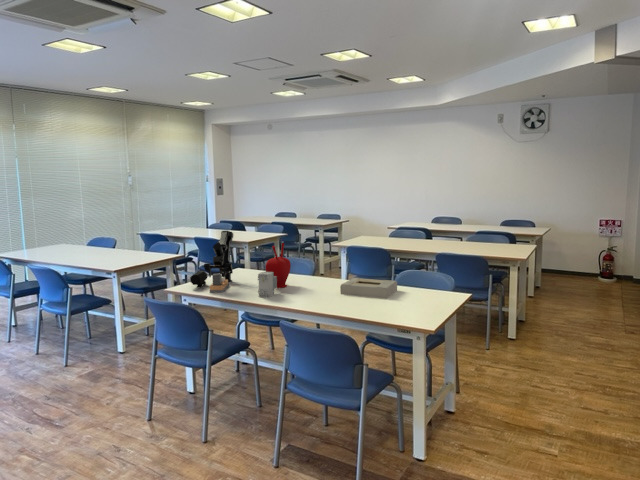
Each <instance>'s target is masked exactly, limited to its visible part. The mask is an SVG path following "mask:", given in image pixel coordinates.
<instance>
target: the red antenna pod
mask: <svg viewBox="0 0 640 480" xmlns="http://www.w3.org/2000/svg"><path fill="white" fill-rule="evenodd" d="M284 247H285V243H284V242H282V243H281V252H280V256H278V254H277V250H276V246H275V245H272V246H271V248H272V250H273V254H274V257H272V258H269V259H268V260H267V261H266V262H265V268H264V269H265V272H274V276H277V288H276V289H285V288H286V287H288V284H286V282H287V280H288V277H289V275H290V273H291V265H292V263H291V261H290V260H289V259H288V258H287V257H284Z"/></svg>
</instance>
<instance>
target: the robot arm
mask: <svg viewBox="0 0 640 480" xmlns="http://www.w3.org/2000/svg"><path fill="white" fill-rule="evenodd" d="M233 239H234V232H232V231H229V230H221V232H220V238H219V241H217V242H216V243H215V244H213V245H212V246H213V247H212V248H213V251H214V254H215V256H212V257H213V258H212V262H213V265H212V264H211V263H210V262H209V263H204V264H203V268H204V271H205V272H206V273H208V275H209V278H211V276H212V269H218V270H219V274H221V276H222V277H225V280H228V283H230V282H233V280H232V278H231V277H232V274H233V272H234V271H233V265H232V262H230V250H231V243H232V242H233Z"/></svg>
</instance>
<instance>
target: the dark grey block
mask: <svg viewBox="0 0 640 480" xmlns="http://www.w3.org/2000/svg"><path fill="white" fill-rule="evenodd" d="M211 276H212V283H213V286H217V285H222V274H220V273H213V274H211Z"/></svg>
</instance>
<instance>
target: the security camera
mask: <svg viewBox="0 0 640 480" xmlns="http://www.w3.org/2000/svg"><path fill="white" fill-rule="evenodd" d="M189 279H190V283H191V284H192V285H193V286H196V288H201V287H203V285H206V284H207V281H206V280H208V272H207V271H205V270H198V271H197V272H195V273H194V274H192V275H191V276H190V278H189Z"/></svg>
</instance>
